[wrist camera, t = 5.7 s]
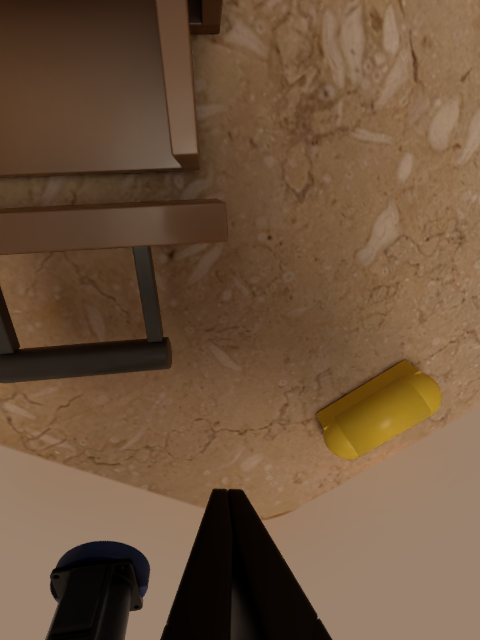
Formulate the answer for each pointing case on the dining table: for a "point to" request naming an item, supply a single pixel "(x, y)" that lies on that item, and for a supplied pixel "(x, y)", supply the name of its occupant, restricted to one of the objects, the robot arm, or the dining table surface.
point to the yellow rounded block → (379, 410)
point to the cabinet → (205, 16)
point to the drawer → (98, 153)
